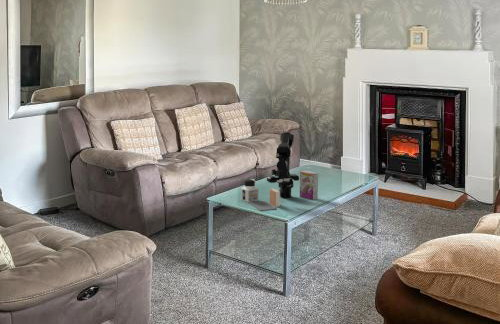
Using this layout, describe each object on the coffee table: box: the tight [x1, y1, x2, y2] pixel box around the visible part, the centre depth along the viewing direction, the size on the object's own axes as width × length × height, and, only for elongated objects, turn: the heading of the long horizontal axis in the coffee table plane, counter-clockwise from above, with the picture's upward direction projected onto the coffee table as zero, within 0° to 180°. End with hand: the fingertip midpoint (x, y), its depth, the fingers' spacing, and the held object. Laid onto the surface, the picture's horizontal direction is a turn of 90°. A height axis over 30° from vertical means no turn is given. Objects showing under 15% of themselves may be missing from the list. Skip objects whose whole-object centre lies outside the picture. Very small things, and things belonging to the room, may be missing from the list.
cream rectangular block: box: [269, 188, 281, 208], centre depth 350 cm, size 3×8×9 cm, turn 21°
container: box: [240, 178, 259, 203], centre depth 360 cm, size 8×8×13 cm
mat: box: [248, 200, 278, 212], centre depth 348 cm, size 10×18×1 cm, turn 21°
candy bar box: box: [299, 170, 319, 201], centre depth 365 cm, size 11×5×16 cm, turn 43°
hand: (282, 192), depth 352 cm, fingers closed
